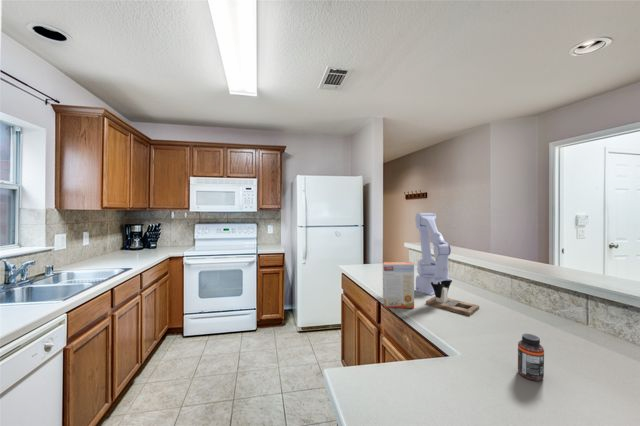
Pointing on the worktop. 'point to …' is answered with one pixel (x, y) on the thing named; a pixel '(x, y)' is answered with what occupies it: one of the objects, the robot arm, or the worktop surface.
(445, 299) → the plug
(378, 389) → the worktop surface
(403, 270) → the cracker box
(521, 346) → the supplement bottle
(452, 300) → the socket panel
